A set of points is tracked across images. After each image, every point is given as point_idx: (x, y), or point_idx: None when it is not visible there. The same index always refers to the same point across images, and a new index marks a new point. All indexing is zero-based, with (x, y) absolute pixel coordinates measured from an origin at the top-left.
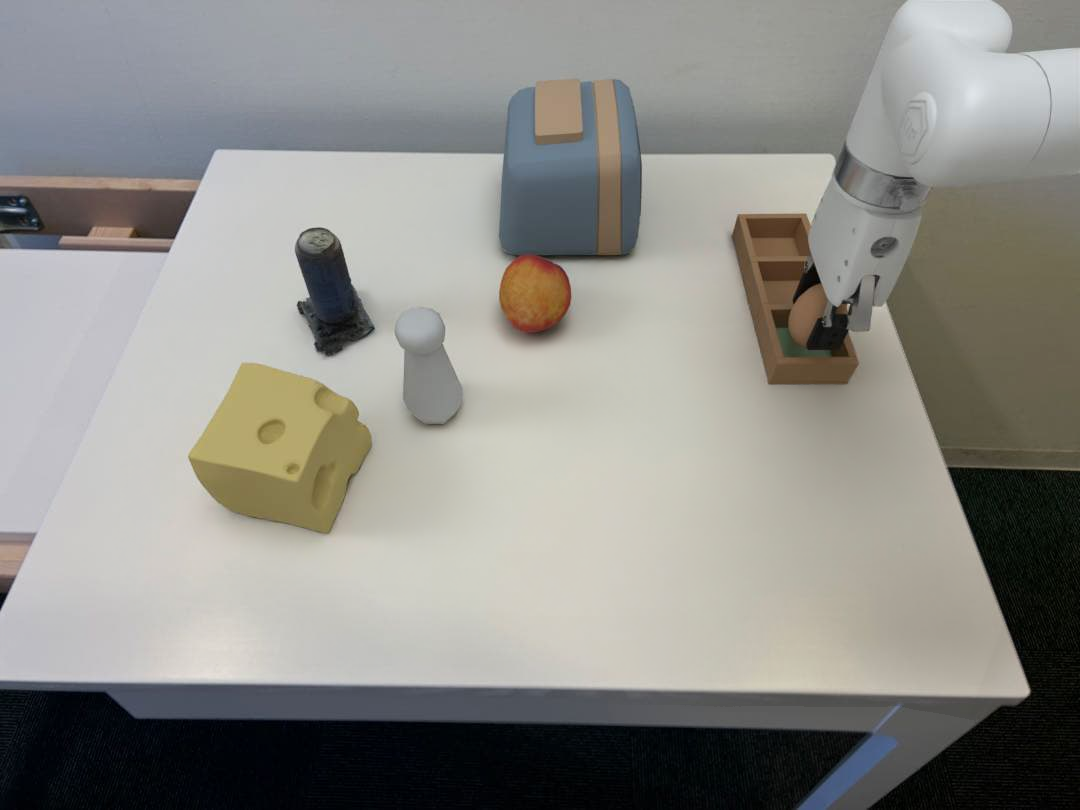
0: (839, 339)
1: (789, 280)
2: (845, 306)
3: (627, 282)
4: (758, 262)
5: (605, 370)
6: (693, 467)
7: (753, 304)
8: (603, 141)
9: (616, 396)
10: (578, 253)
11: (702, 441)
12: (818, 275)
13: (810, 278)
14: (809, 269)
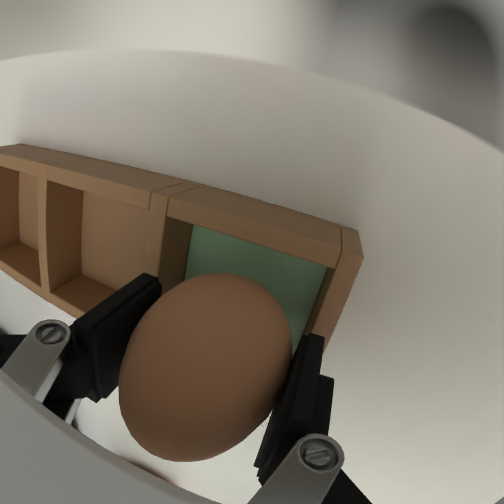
0: (329, 405)
1: (82, 206)
2: (222, 389)
3: (95, 403)
4: (51, 289)
5: (220, 480)
6: (379, 476)
7: None
8: None
9: (257, 488)
10: (70, 425)
11: (354, 463)
12: (88, 380)
13: (98, 390)
14: (76, 406)
